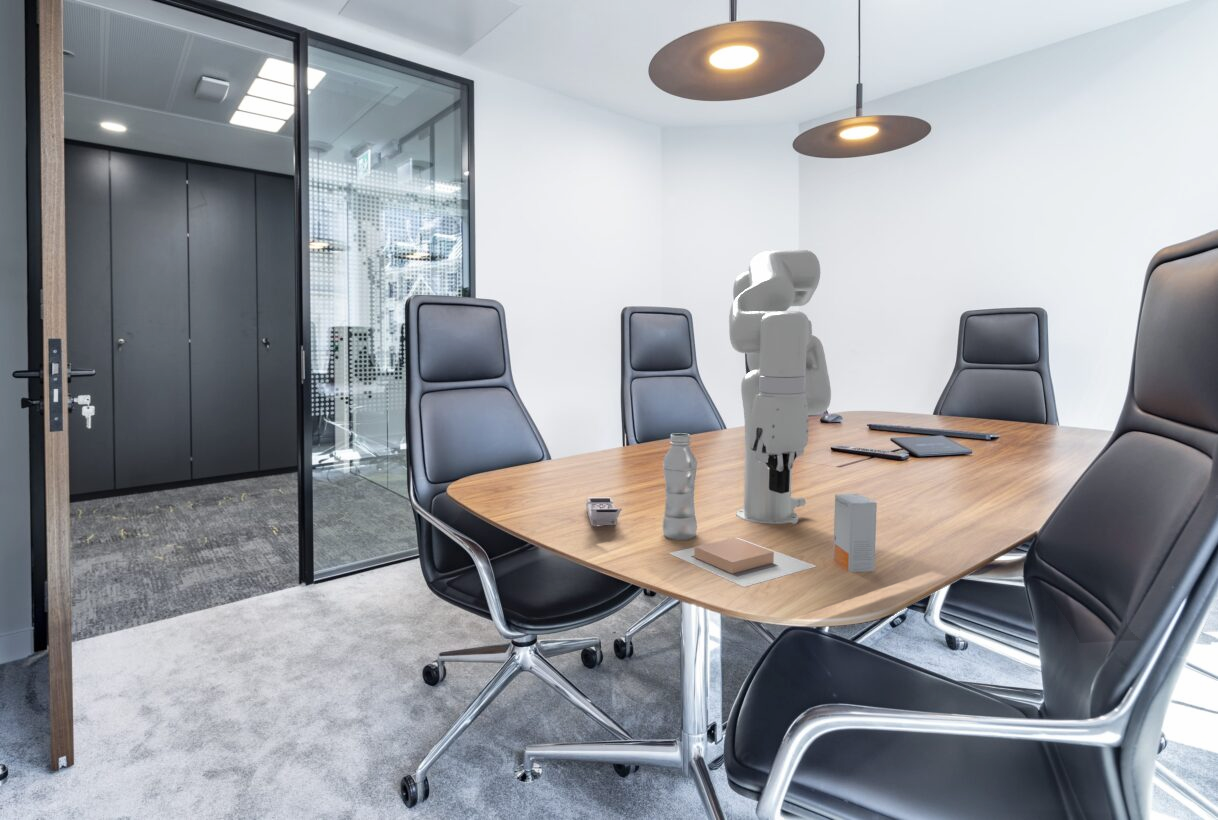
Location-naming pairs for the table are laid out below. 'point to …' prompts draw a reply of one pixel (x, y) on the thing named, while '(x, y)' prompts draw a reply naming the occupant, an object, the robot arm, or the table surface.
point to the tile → (733, 555)
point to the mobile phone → (602, 511)
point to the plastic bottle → (679, 489)
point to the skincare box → (854, 532)
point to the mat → (751, 576)
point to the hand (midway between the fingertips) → (778, 490)
